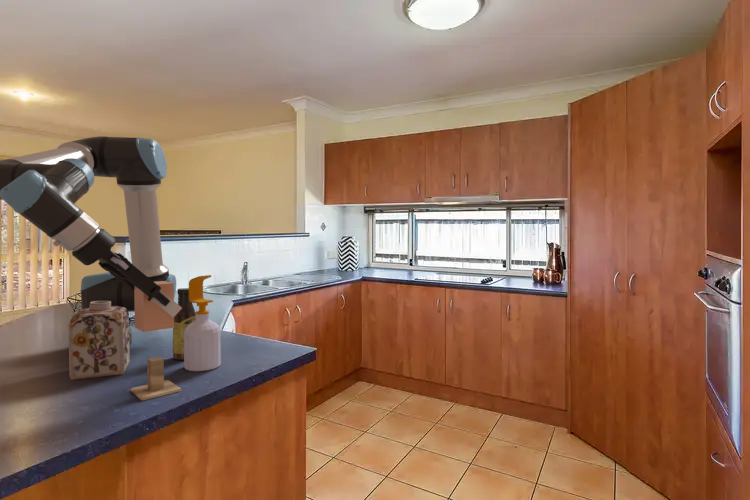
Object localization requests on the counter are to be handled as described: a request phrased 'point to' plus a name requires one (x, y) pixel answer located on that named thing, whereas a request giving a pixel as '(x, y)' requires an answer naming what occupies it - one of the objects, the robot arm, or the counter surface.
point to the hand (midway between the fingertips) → (171, 310)
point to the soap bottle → (201, 333)
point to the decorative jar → (99, 341)
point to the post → (155, 381)
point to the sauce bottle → (182, 322)
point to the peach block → (152, 310)
